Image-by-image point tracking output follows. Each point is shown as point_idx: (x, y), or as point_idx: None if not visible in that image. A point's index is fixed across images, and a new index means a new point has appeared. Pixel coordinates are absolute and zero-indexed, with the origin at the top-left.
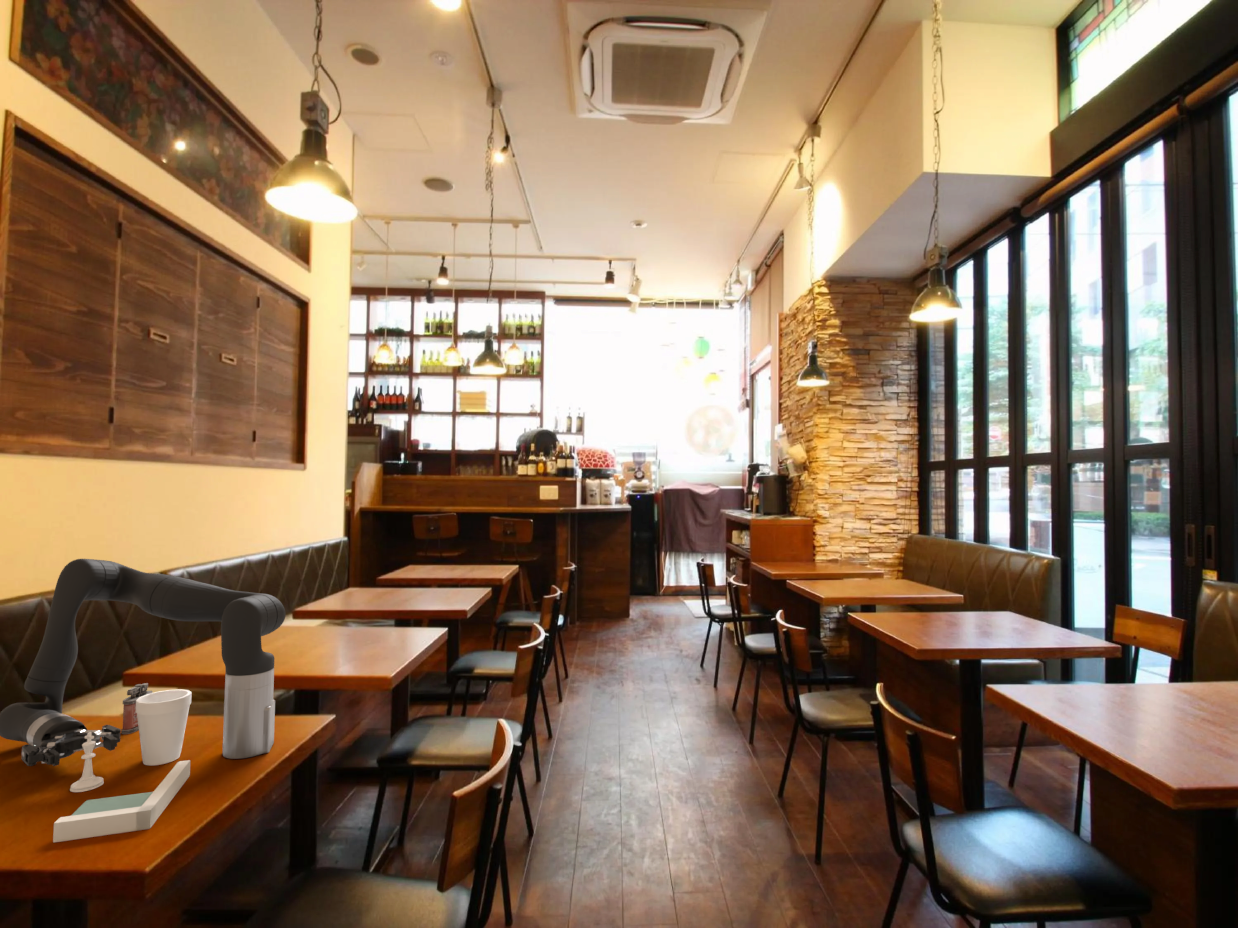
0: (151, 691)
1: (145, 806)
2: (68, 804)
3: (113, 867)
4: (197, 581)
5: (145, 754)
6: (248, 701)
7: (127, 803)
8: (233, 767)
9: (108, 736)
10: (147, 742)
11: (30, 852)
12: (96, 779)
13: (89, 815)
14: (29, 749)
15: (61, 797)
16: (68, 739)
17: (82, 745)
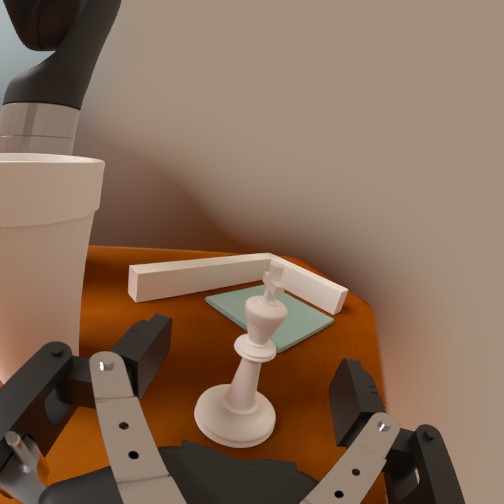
0: None
1: (268, 256)
2: (301, 372)
3: (309, 267)
4: None
5: (74, 354)
6: None
7: None
8: (94, 267)
9: (141, 340)
10: (79, 311)
11: (359, 313)
12: (223, 390)
13: (315, 277)
14: (443, 471)
15: (300, 411)
16: (259, 492)
17: (287, 313)
